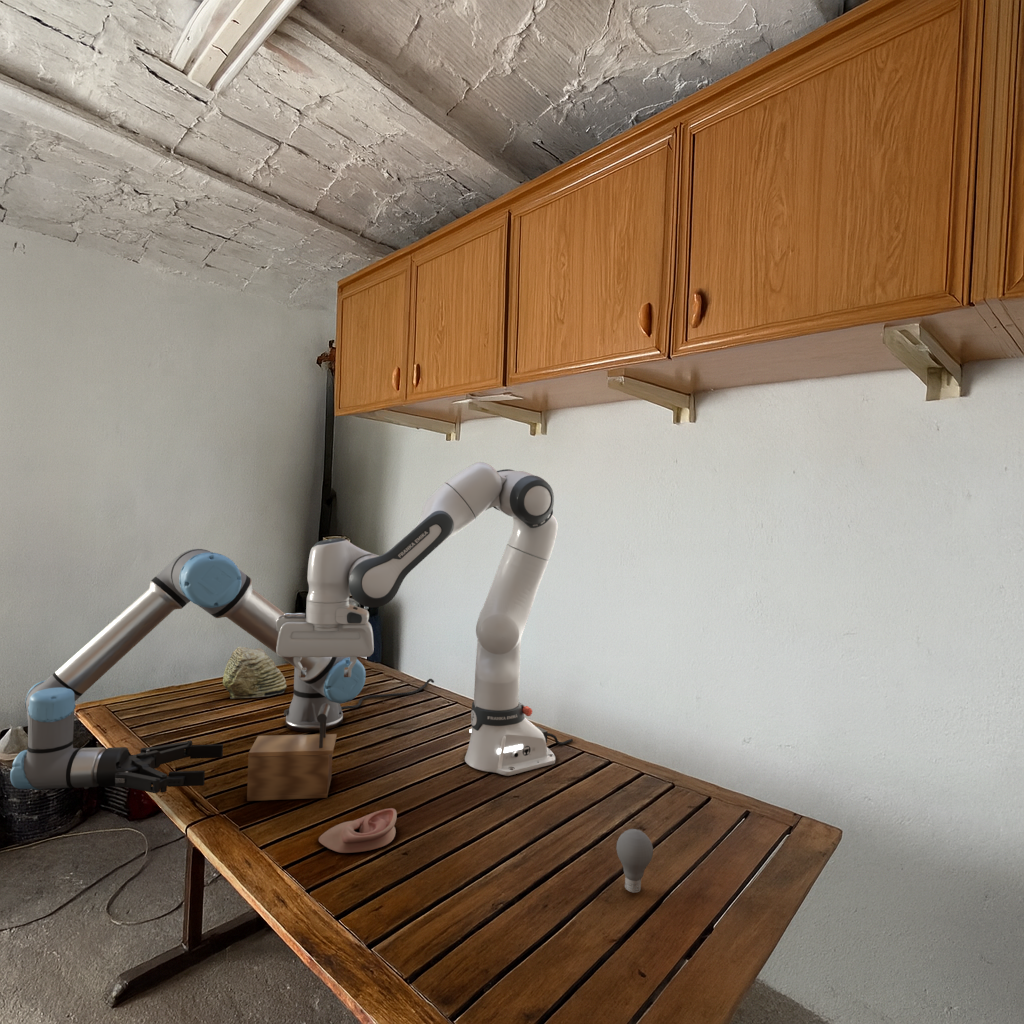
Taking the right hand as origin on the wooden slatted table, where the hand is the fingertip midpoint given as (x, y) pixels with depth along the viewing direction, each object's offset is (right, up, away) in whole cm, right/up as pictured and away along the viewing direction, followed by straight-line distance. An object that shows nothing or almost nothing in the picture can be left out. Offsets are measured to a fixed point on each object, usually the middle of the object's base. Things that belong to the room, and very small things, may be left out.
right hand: (325, 676), depth 137 cm
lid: (-6, -15, -1) cm, 16 cm away
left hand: (-22, -17, -4) cm, 28 cm away
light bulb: (+61, -28, -32) cm, 74 cm away
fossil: (-40, -22, +61) cm, 76 cm away
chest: (-7, -24, -1) cm, 25 cm away
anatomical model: (+12, -25, -19) cm, 34 cm away
